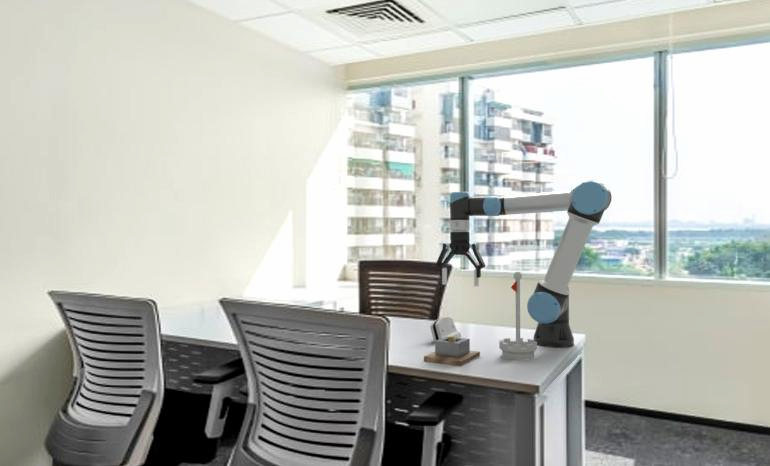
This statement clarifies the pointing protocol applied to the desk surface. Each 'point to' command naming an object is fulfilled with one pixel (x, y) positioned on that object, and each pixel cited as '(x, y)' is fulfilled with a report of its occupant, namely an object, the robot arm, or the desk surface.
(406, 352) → the desk surface
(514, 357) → the flag stand
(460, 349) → the grey hollow square block
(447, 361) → the wooden peg stand
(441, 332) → the hinge
